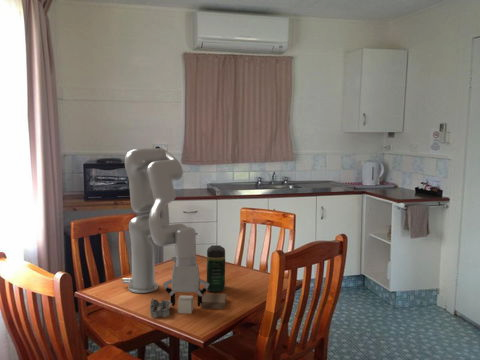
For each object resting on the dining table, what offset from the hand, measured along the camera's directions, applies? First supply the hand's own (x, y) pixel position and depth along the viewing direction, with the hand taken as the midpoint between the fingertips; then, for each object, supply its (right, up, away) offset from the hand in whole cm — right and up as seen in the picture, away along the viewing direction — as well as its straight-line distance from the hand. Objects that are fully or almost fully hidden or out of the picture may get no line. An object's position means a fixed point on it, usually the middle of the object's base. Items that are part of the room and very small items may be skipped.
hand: (186, 305), depth 168 cm
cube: (0, -2, +1) cm, 2 cm away
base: (+10, -2, +7) cm, 12 cm away
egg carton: (-10, -3, -1) cm, 10 cm away
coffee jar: (+10, 0, +24) cm, 26 cm away
